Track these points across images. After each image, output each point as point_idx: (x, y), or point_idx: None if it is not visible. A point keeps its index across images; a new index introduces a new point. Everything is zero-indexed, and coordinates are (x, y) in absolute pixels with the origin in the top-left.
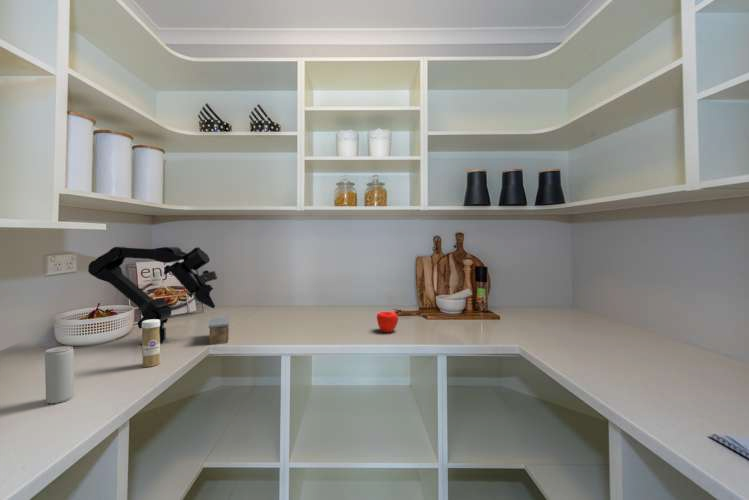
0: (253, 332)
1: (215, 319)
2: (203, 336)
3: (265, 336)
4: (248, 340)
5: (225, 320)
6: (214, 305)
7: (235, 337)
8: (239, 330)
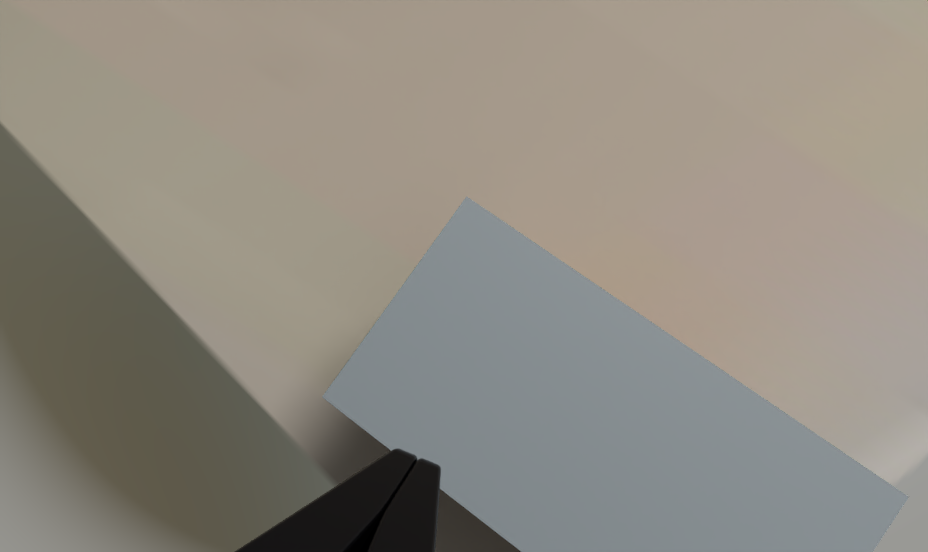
0: (635, 72)
1: (458, 420)
2: (331, 444)
3: (874, 92)
4: (860, 276)
5: (660, 381)
6: (437, 489)
7: (646, 284)
8: (444, 107)
